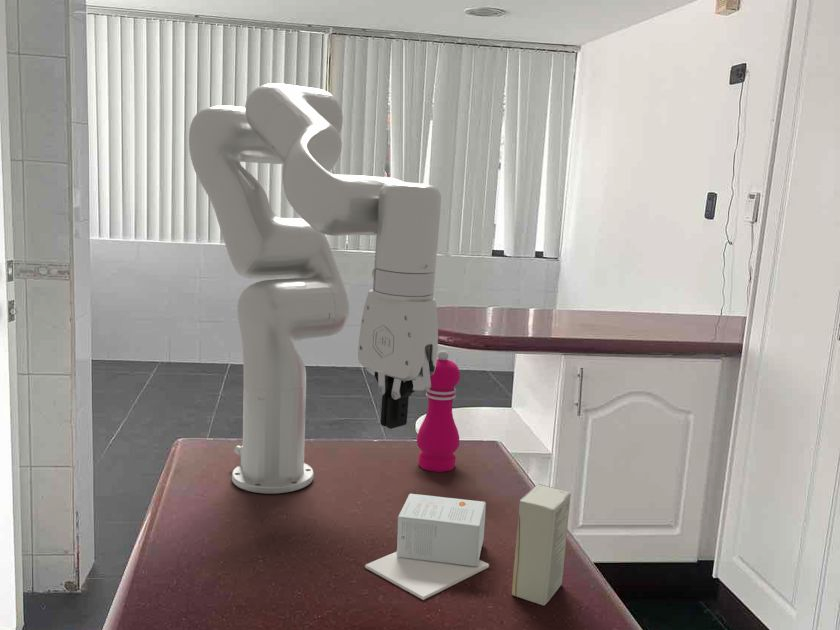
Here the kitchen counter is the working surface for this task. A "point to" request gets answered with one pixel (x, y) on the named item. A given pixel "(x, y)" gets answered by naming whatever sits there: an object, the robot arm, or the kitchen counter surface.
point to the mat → (422, 573)
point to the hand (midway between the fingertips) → (393, 424)
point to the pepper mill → (440, 419)
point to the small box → (441, 529)
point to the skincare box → (540, 543)
